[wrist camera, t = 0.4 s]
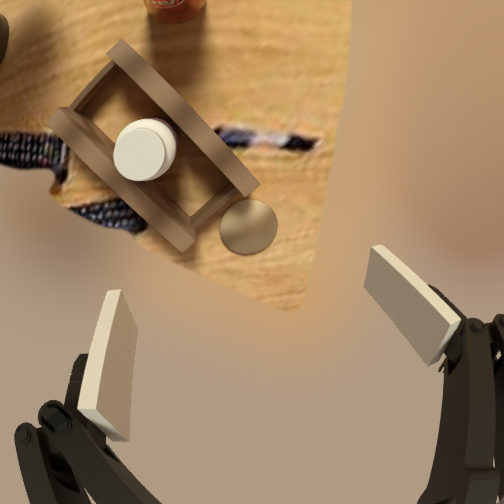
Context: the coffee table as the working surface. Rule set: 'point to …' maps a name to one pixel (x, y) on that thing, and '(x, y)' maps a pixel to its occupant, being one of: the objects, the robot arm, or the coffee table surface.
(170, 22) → the soda can
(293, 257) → the coffee table surface
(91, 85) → the pocket block
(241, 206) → the coaster
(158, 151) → the pill bottle
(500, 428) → the robot arm
